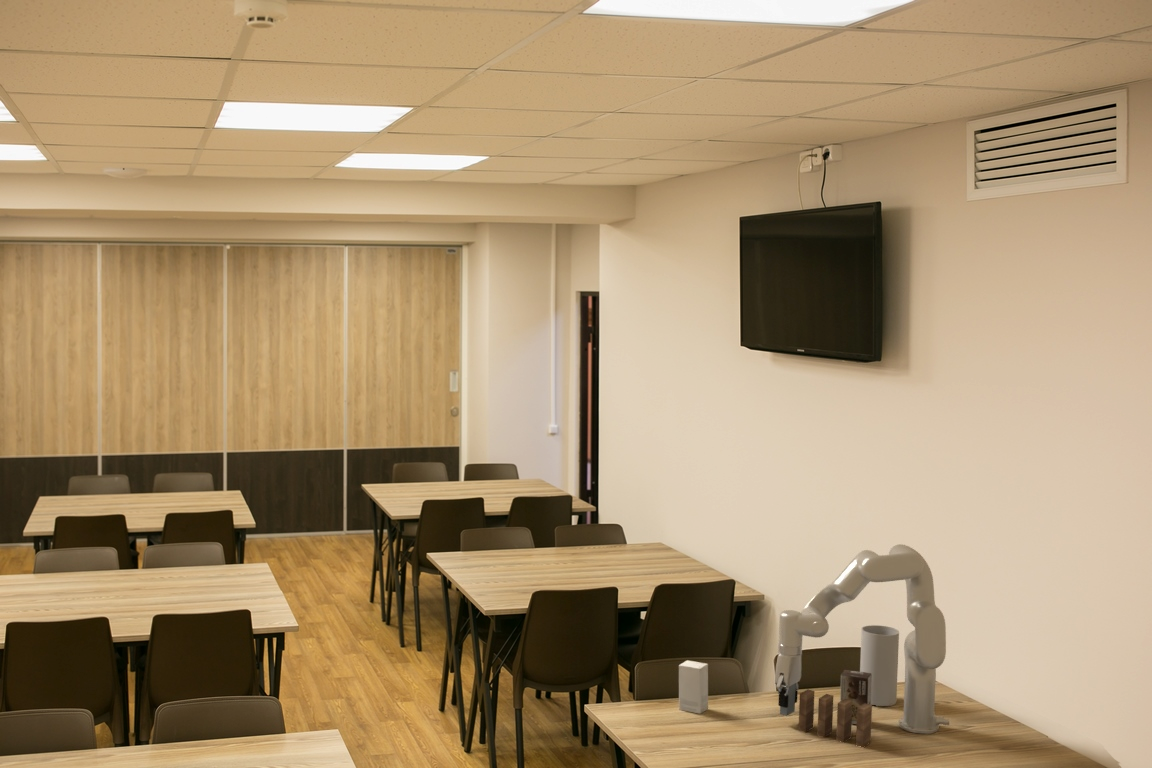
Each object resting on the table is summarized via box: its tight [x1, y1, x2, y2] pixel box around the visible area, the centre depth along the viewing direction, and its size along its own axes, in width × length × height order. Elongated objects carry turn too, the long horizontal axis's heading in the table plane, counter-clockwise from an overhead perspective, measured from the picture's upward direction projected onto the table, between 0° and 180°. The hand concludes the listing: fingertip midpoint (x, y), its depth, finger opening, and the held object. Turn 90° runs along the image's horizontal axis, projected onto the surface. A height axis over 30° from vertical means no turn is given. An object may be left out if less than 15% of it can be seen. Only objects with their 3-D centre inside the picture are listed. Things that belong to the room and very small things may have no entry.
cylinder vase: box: [859, 624, 900, 707], centre depth 385 cm, size 12×12×25 cm
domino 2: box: [816, 693, 834, 738], centre depth 354 cm, size 2×6×12 cm, turn 142°
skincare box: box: [678, 659, 709, 715], centre depth 373 cm, size 8×7×16 cm
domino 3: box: [835, 699, 853, 743], centre depth 350 cm, size 2×6×12 cm, turn 142°
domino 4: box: [855, 703, 873, 748], centre depth 346 cm, size 2×6×12 cm, turn 142°
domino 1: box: [798, 689, 815, 733], centre depth 358 cm, size 2×6×12 cm, turn 142°
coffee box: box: [839, 669, 871, 725], centre depth 365 cm, size 9×6×16 cm
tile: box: [779, 683, 796, 717], centre depth 361 cm, size 2×6×12 cm, turn 142°
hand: (787, 703), depth 361 cm, fingers closed on tile, 5 cm apart
